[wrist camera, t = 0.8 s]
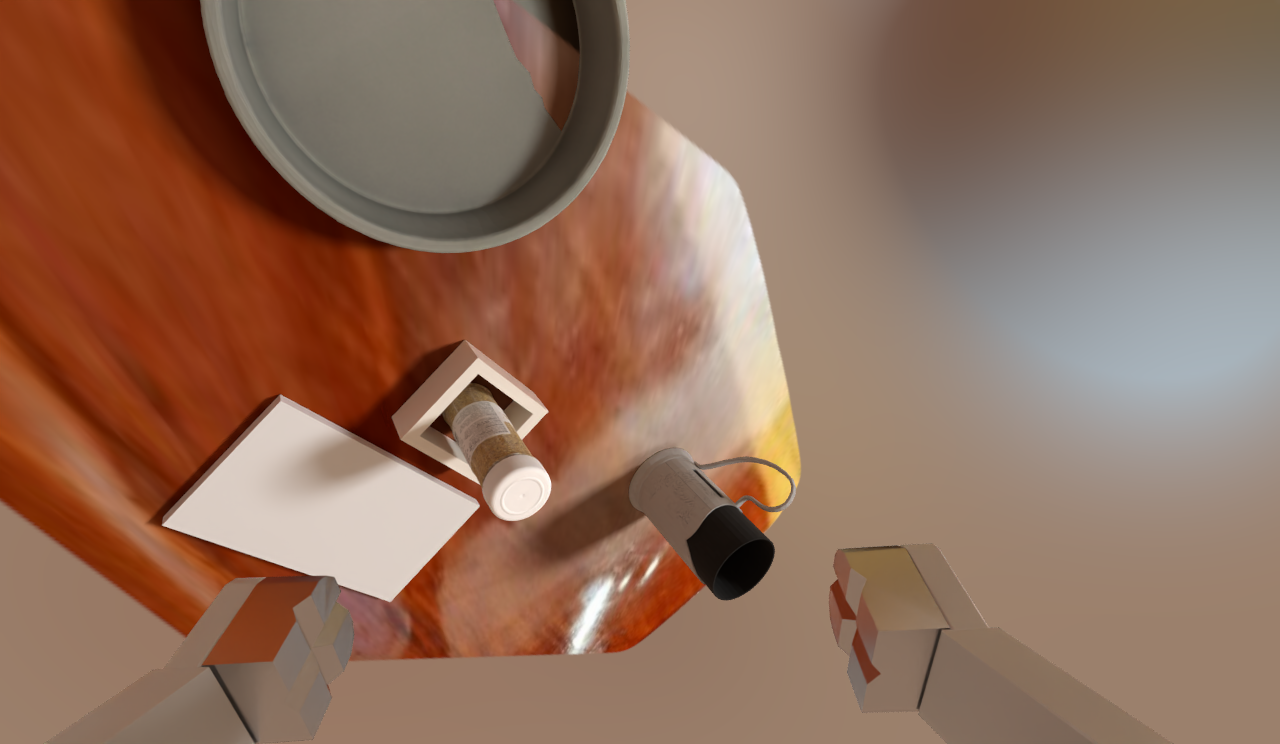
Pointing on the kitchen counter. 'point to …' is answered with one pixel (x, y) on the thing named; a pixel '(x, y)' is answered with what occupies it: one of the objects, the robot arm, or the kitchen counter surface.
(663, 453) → the grey ceramic mug
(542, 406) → the stand
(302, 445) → the white board
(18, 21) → the kitchen counter surface
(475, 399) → the sprinkles bottle
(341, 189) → the cake pan
